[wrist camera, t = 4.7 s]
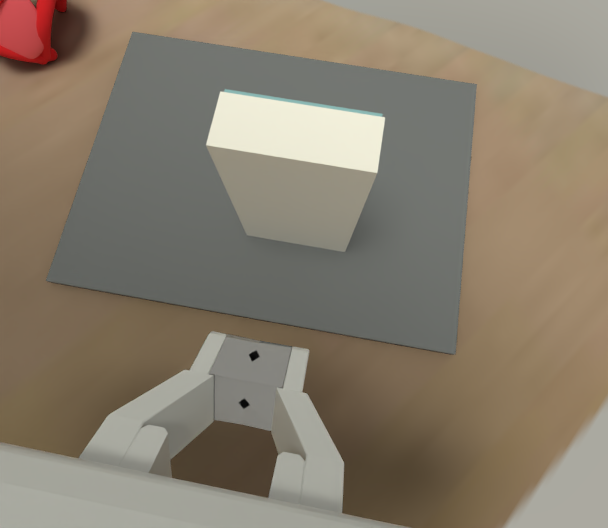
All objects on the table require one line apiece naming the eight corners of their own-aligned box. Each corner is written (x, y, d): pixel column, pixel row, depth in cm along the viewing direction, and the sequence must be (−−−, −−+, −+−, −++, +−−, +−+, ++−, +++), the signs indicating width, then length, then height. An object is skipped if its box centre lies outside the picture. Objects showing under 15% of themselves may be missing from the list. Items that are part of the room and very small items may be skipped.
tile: (246, 235, 23) (206, 145, 13) (255, 199, 23) (221, 86, 14) (345, 252, 23) (377, 173, 13) (350, 215, 23) (385, 112, 13)
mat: (52, 282, 23) (45, 280, 22) (136, 38, 27) (132, 31, 26) (451, 354, 22) (455, 354, 21) (472, 90, 26) (476, 84, 25)
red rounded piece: (79, -54, 25) (-38, -118, 22) (56, -15, 22) (-85, -84, 19) (68, 55, 30) (-27, 15, 27) (48, 99, 27) (-62, 59, 24)
